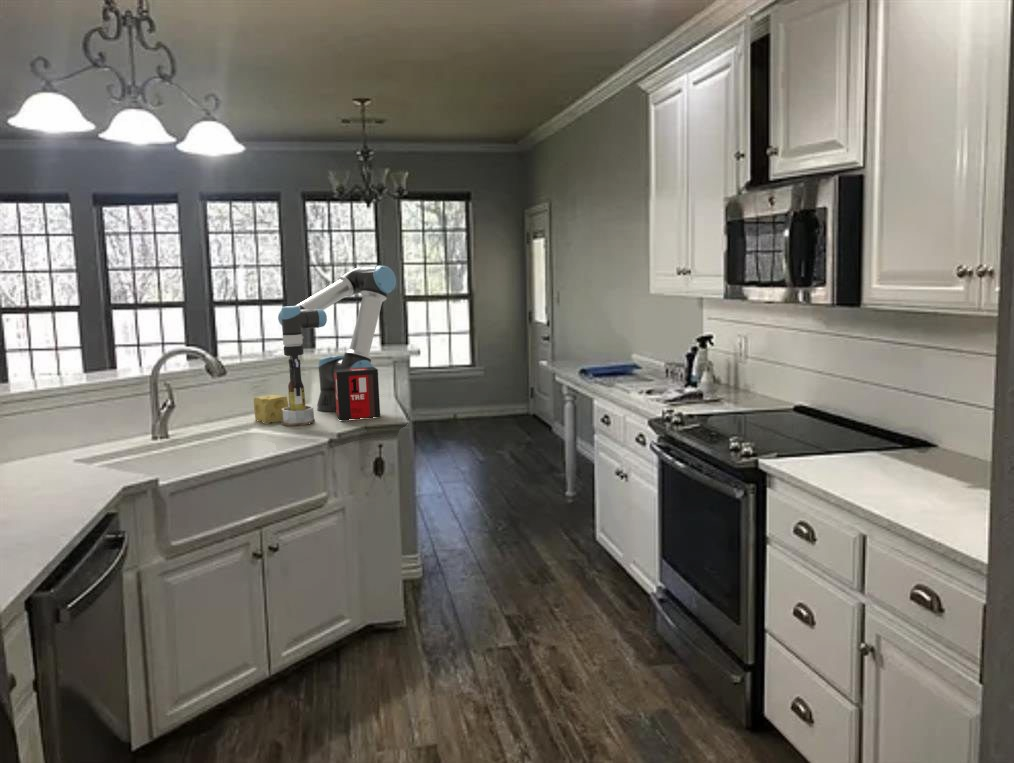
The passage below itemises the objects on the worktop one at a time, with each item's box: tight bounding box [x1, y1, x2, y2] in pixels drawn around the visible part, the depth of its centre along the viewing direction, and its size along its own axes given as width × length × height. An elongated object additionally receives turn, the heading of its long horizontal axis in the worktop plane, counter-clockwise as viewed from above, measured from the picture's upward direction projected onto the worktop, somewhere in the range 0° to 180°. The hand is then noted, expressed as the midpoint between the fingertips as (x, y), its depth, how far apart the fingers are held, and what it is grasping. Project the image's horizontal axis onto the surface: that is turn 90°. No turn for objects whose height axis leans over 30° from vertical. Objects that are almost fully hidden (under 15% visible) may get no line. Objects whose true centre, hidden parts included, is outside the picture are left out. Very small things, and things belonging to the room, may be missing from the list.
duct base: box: [281, 418, 316, 427], centre depth 345 cm, size 13×13×1 cm
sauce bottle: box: [287, 368, 307, 411], centre depth 343 cm, size 7×6×20 cm
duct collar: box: [281, 405, 315, 423], centre depth 345 cm, size 12×12×5 cm
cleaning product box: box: [334, 366, 381, 421], centre depth 351 cm, size 16×9×20 cm, turn 108°
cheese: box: [253, 394, 289, 424], centre depth 352 cm, size 10×11×10 cm
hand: (297, 402), depth 344 cm, fingers closed on sauce bottle, 6 cm apart
